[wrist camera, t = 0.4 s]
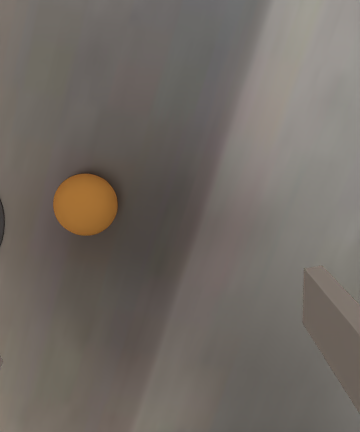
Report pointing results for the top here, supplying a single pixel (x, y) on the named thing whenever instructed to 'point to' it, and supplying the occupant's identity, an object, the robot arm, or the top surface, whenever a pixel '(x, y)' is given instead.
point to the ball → (85, 204)
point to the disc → (1, 222)
